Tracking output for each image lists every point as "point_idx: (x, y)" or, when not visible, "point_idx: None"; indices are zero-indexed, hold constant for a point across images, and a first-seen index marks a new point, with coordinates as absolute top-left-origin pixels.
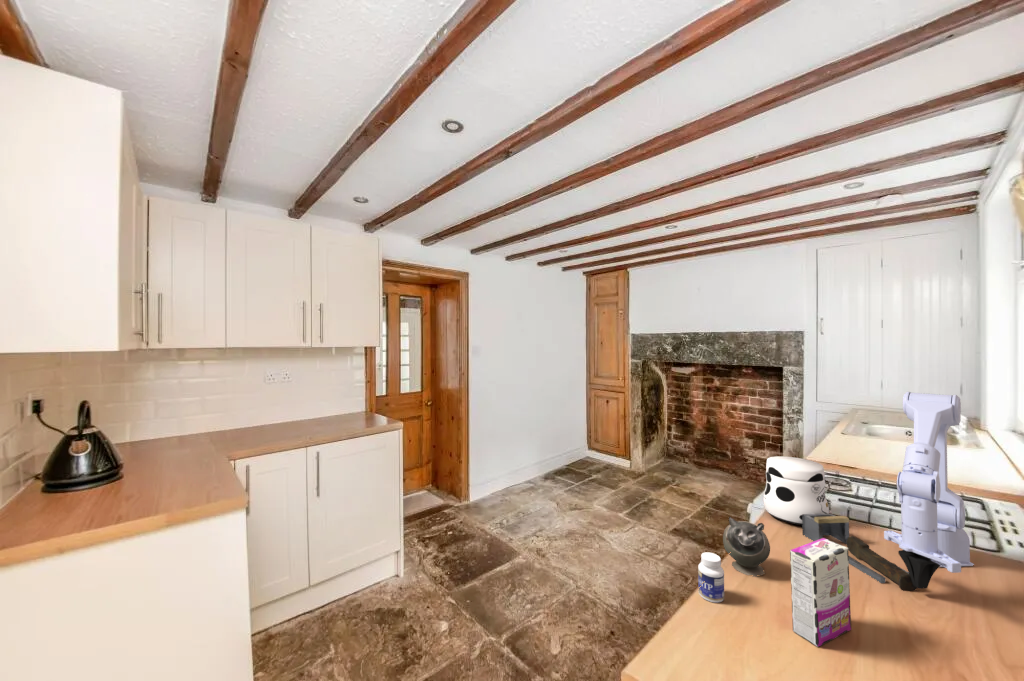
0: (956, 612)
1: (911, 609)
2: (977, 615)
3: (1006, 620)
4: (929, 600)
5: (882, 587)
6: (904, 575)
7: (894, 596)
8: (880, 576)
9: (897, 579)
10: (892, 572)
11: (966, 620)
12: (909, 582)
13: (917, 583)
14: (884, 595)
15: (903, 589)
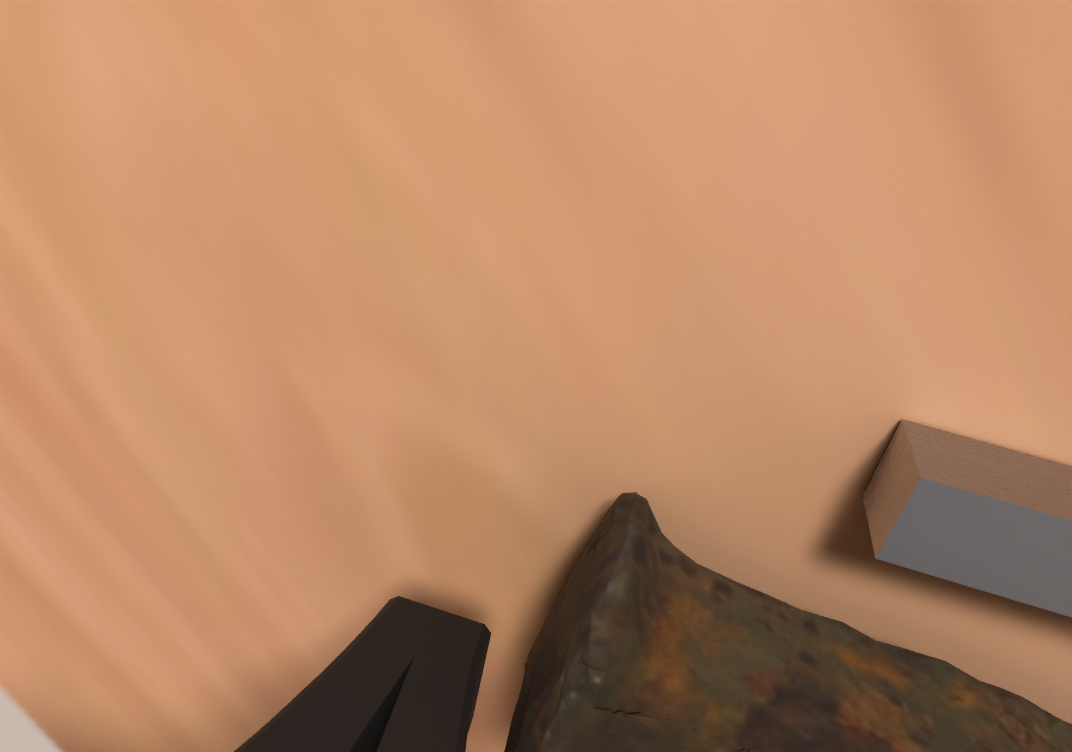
0: (153, 522)
1: (208, 38)
2: (115, 625)
3: (65, 719)
4: (369, 533)
5: (810, 301)
6: (555, 718)
7: (546, 188)
8: (955, 532)
9: (698, 618)
10: (806, 725)
11: (28, 450)
12: (535, 649)
13: (363, 648)
14: (623, 26)
15: (611, 510)
